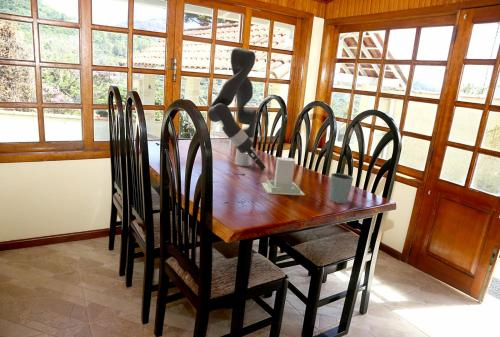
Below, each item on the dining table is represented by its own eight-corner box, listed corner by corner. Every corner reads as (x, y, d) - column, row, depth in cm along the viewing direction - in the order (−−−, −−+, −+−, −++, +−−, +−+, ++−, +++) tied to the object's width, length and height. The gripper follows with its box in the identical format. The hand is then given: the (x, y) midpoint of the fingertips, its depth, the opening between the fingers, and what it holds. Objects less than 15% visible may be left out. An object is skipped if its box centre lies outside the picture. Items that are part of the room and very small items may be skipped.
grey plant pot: (338, 205, 158) (343, 179, 155) (322, 197, 166) (326, 173, 163) (352, 202, 164) (357, 178, 161) (336, 195, 172) (340, 172, 169)
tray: (261, 184, 176) (262, 179, 175) (295, 186, 179) (296, 181, 179) (267, 193, 163) (268, 188, 162) (304, 195, 166) (305, 190, 165)
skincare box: (289, 187, 174) (293, 158, 171) (291, 190, 169) (296, 161, 165) (272, 185, 174) (276, 156, 170) (274, 189, 168) (278, 159, 164)
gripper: (250, 138, 154) (271, 165, 159) (244, 132, 168) (265, 157, 173) (236, 149, 154) (259, 175, 160) (232, 142, 168) (253, 167, 173)
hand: (262, 166), depth 166 cm, fingers open, 8 cm apart
